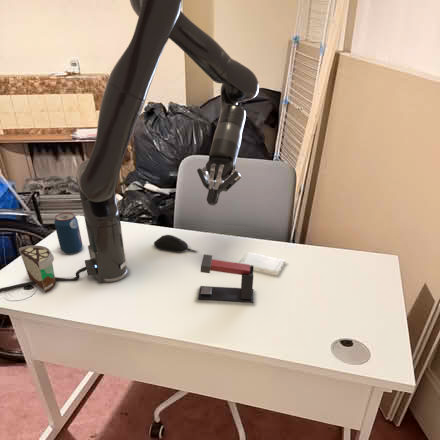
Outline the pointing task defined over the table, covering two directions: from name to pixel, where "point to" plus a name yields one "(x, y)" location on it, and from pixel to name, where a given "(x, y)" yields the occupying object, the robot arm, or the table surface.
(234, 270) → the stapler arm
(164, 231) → the table surface
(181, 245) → the gaming mouse
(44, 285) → the food container
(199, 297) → the stapler base
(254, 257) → the hard drive
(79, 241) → the soda can
